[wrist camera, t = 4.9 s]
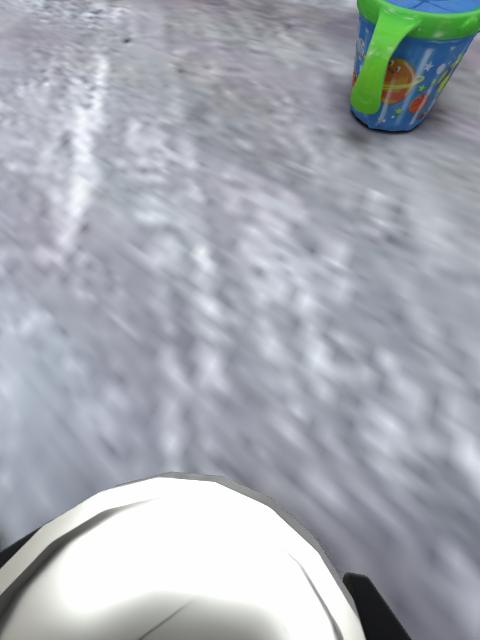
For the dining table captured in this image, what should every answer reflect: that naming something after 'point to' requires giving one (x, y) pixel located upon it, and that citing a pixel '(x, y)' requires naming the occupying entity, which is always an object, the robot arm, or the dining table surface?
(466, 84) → the dining table surface
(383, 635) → the robot arm
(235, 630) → the beer can
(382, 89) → the snack cup
